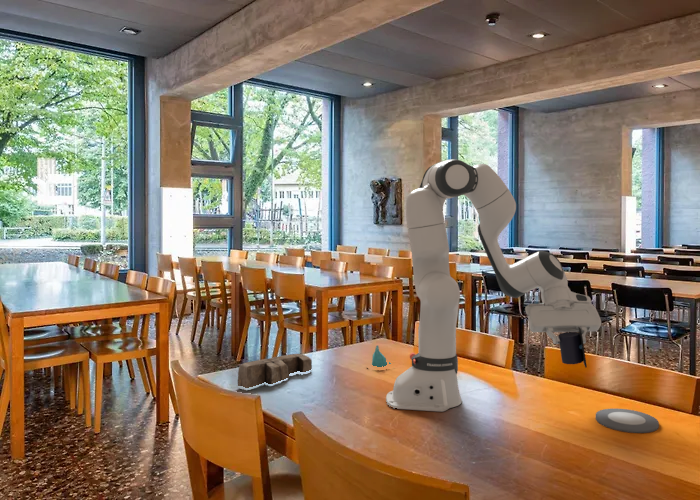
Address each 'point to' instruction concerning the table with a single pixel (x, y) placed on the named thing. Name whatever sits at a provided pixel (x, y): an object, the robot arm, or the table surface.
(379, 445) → the table surface
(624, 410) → the speaker stand
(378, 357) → the teal tapered piece
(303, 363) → the sculpture
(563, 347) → the speaker
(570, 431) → the table surface
